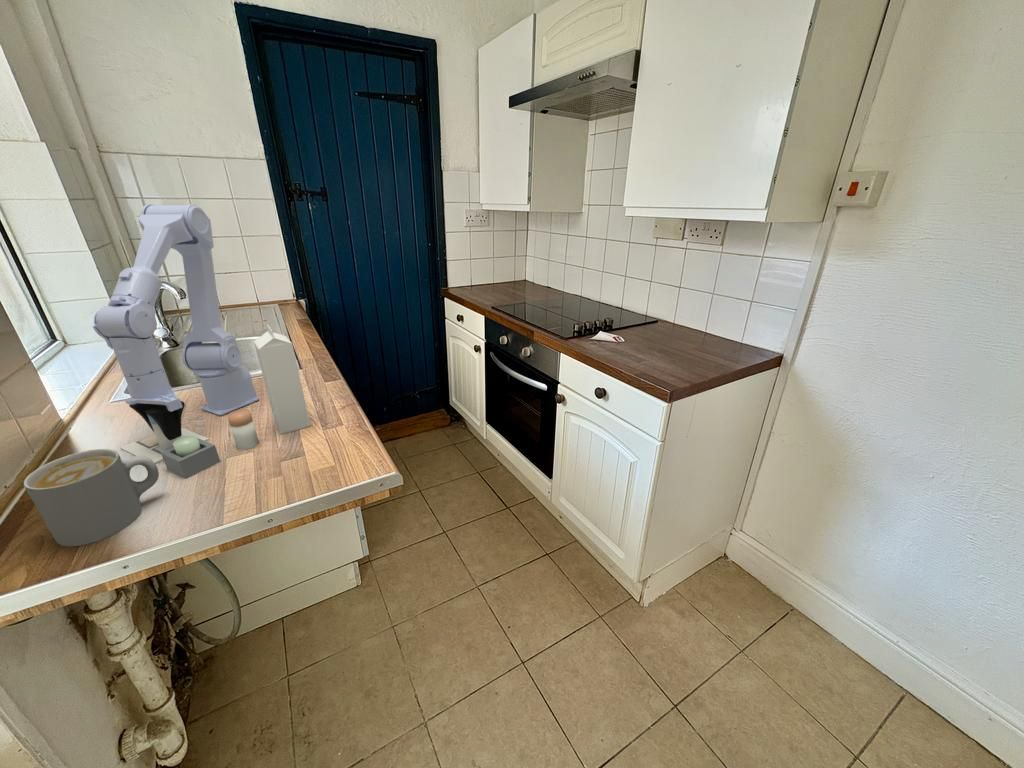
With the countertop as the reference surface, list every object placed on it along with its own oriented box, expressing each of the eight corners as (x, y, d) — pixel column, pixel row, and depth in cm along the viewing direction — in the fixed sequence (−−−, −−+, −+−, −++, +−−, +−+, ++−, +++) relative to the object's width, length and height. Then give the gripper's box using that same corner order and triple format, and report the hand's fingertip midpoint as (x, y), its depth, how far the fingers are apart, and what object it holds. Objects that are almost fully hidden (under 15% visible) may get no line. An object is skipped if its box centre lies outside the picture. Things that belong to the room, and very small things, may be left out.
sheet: (176, 426, 92) (175, 424, 92) (208, 439, 87) (208, 437, 87) (120, 448, 84) (119, 447, 84) (152, 464, 79) (151, 462, 78)
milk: (280, 435, 88) (253, 333, 79) (275, 423, 93) (248, 326, 84) (311, 426, 92) (288, 327, 83) (304, 415, 96) (282, 321, 87)
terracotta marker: (251, 437, 87) (242, 407, 85) (263, 442, 86) (254, 411, 83) (232, 446, 84) (222, 415, 81) (244, 451, 82) (234, 420, 80)
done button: (196, 449, 80) (190, 433, 79) (207, 454, 78) (201, 438, 77) (174, 459, 77) (168, 442, 76) (185, 464, 76) (179, 447, 74)
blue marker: (178, 435, 86) (166, 404, 83) (188, 440, 84) (176, 409, 81) (155, 444, 83) (143, 412, 80) (165, 450, 81) (152, 417, 78)
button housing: (201, 453, 82) (196, 437, 81) (220, 461, 80) (214, 445, 78) (167, 469, 77) (160, 452, 76) (185, 478, 75) (179, 461, 73)
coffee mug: (52, 557, 58) (17, 499, 54) (58, 520, 65) (28, 465, 61) (172, 513, 66) (149, 460, 62) (166, 484, 73) (145, 434, 69)
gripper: (97, 371, 77) (125, 435, 83) (138, 385, 71) (165, 454, 76) (142, 359, 83) (166, 420, 88) (184, 371, 77) (206, 436, 82)
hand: (168, 435), depth 83 cm, fingers closed on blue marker, 4 cm apart
